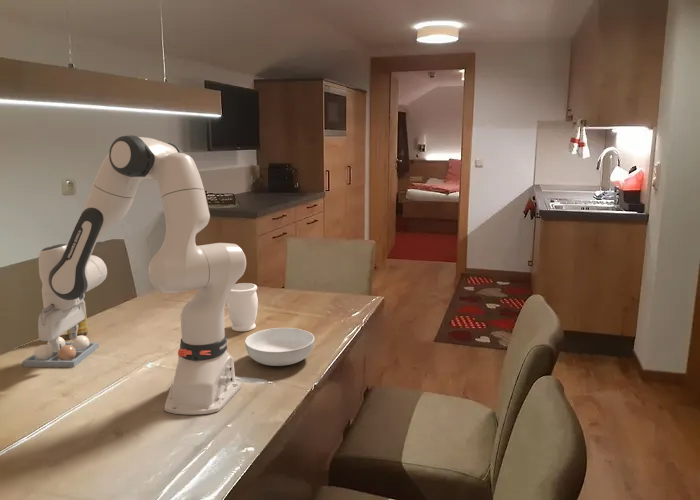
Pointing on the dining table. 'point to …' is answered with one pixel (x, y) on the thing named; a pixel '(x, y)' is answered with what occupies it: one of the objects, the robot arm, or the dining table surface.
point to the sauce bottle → (81, 326)
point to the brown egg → (67, 353)
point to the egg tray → (56, 362)
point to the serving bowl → (279, 346)
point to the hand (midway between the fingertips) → (65, 344)
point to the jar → (243, 306)
